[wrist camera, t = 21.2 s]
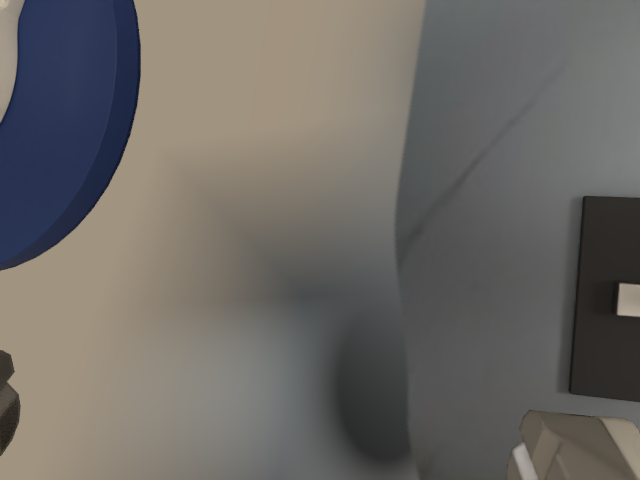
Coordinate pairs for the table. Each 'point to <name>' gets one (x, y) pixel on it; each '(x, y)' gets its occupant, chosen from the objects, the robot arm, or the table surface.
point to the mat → (606, 301)
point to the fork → (626, 299)
